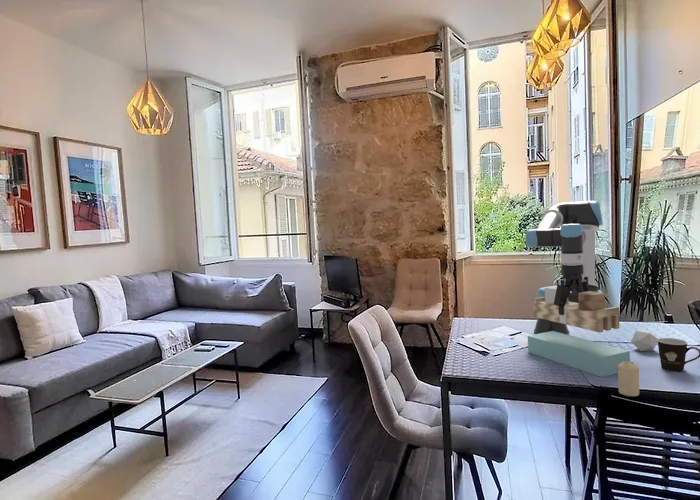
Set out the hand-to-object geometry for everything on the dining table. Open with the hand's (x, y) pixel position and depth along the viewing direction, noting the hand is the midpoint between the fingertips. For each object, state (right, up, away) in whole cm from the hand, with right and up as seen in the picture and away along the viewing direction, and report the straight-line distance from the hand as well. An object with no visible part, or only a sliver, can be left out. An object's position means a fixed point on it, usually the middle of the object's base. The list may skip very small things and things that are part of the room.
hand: (573, 321), depth 168 cm
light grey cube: (-3, +6, +7) cm, 10 cm away
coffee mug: (+29, -15, -15) cm, 36 cm away
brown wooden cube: (+3, +6, -8) cm, 10 cm away
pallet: (0, 0, 0) cm, 0 cm away
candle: (+1, -18, -31) cm, 36 cm away
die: (+33, -13, +9) cm, 37 cm away
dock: (+1, -15, +1) cm, 16 cm away
